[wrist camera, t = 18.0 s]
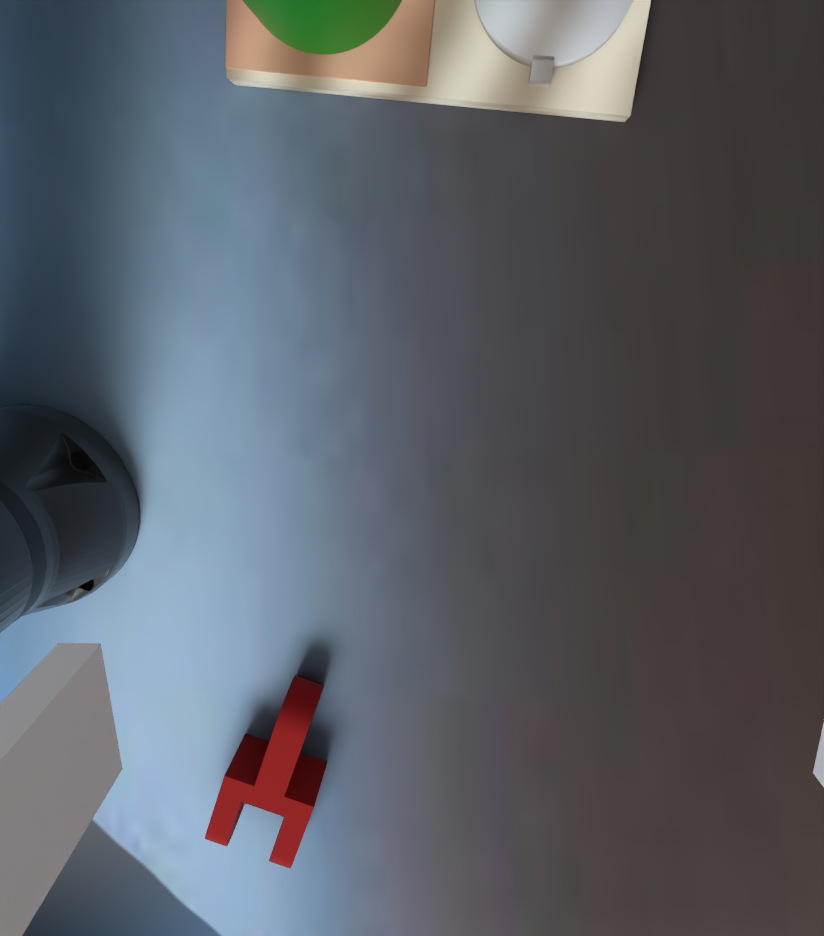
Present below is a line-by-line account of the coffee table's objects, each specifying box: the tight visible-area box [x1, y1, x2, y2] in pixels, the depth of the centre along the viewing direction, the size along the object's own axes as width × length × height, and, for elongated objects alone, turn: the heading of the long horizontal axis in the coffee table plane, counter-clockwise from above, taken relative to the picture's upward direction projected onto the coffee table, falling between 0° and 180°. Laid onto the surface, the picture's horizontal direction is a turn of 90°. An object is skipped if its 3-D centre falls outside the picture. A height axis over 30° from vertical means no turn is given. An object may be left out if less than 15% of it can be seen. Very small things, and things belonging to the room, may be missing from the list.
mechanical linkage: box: [205, 676, 327, 868], centre depth 52 cm, size 16×7×5 cm, turn 161°
